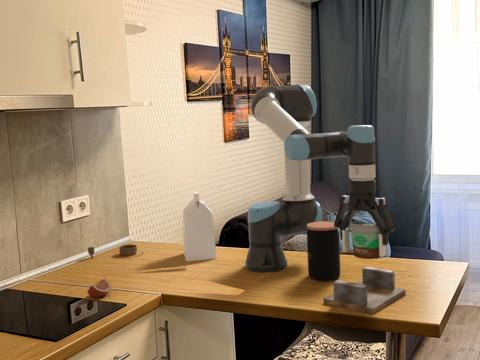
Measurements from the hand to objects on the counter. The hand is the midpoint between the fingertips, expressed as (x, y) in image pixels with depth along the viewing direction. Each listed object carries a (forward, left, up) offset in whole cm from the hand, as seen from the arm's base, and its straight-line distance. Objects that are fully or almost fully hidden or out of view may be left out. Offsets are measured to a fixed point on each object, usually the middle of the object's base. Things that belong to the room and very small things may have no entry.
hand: (364, 253), depth 171 cm
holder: (0, 0, -14) cm, 14 cm away
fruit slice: (-71, -43, -14) cm, 84 cm away
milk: (-77, +8, -14) cm, 79 cm away
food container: (+1, 0, -1) cm, 2 cm away
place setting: (-108, -8, -14) cm, 109 cm away
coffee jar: (-22, +12, -14) cm, 29 cm away
